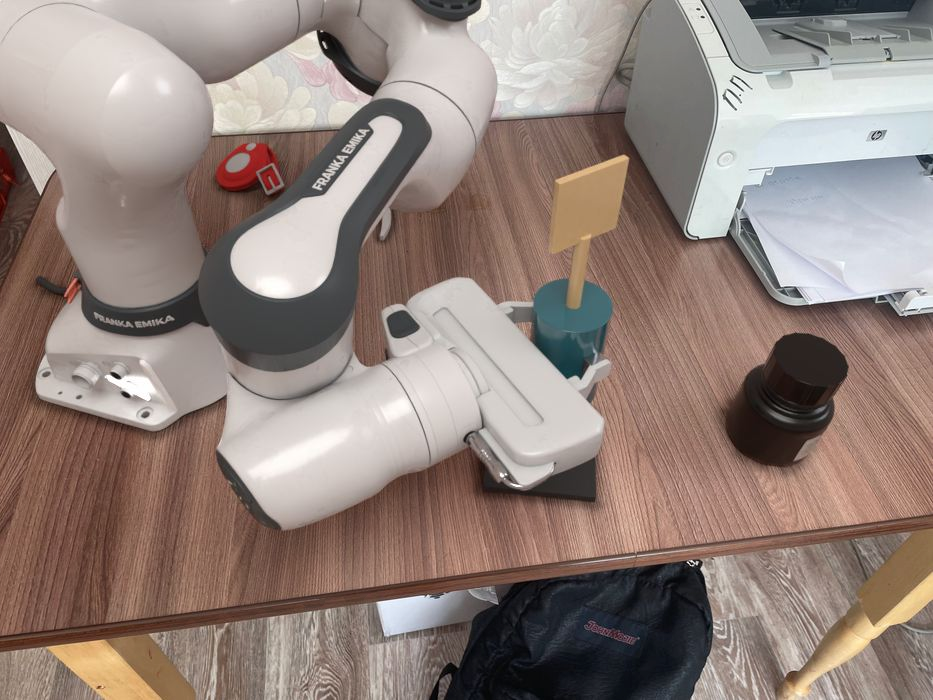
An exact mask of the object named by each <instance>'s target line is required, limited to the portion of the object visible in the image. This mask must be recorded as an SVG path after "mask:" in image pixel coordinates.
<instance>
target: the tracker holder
mask: <svg viewBox="0 0 933 700" xmlns="http://www.w3.org/2000/svg"><path fill="white" fill-rule="evenodd" d="M270 147H271V146H269V145H268V143H266V142H251V143H250V142H246V143H242V144H240V145H239V146H238V147H236V148H235V149H234V150H233V151H231V152H230V153H229V154H228V155H227V156H226V157H225V158H224V159H223V160H222V161H220V164H219V165H218V167H217V169H216V173H215V178H216V181H217V182H218V184H219V186H220V187H222V189H224V190H226V191H231V192H236V191H241V190H242V191H243V190H245V189H247V188H249V187H251V186H253V185H254V184H256V183H257V182H260V184H261V186H262V188H263V190H264V192H265V194H266V196H270V195H275V194H277V193H280V192H281V191H283V190H284V187H285V183H284V181H283V180H282V178H281V174H280V168H279V162H278V157H277V155H276V153H275V152H274V151H273V149H272V148H270Z"/></svg>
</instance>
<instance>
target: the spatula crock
mask: <svg viewBox="0 0 933 700" xmlns="http://www.w3.org/2000/svg"><path fill="white" fill-rule="evenodd" d="M629 162H630V157H629V156H627V155H625V154H622V155H618V156H616V157H613V158H611V159H608V160H605V161H602V162H600V163H597V164H594V165H592V166H589V167H586V168H583V169H581V170H578V171H576V172H573V173H570V174H568V175H565V176H562V177H560V178H556V179H555V180H554V184H553V194H552V203H551V212H550V213H551V215H550V224H549V232H548V233H549V234H548V241H547V243H548V245H547V252H548V253H549V254H550V255H556V254H558V253H560V252H563V251H565V250H568V249H570V248H572V253H571V261H570V269H569V276H568V277H565V278H564V277H563V278H559V279H554V280H551V281H548V282H547V283H545V284H543V285H542V286H541V287H540V288H538V290H537V291H536V293H535V294H534V297H533V300H532V301H533V311H532V321H531V322H530V323H531V324H530V336H529V340H530V341H531V342H532V343H533V344H534V345H535V346H536V347H537V348H538V349H539V350H540V351H541V352H542V353H543V355H544V356H545V357H546V358H547V359H548V360H549V361H550V362H551V363H552V364H553V365H554V366H555V367H556V368H557V369H558V370H559V371H560V373H561V374H562V375H563V376H564V377H565V378H566V379H569V378H571V377H573V376H578V377H579V378H580V380H581V379H582V378H583V376H584V375H583V374H582V369H583V367H584V364H583V363H584V358H586V357H588V356H591V355H595V353H597V352H601V353H602V354H603V355H604V356H605V353H606V347H607V342H608V337H609V332H610V329H611V323H612V318H613V314H614V304H613V301H612V298H611V296H610V295H609V294H608V292H606V290H604V289H603V288H602V287H600V286H599V285H597V284H595V283H594V282H591V281H588V280H586V274H587V273H586V272H587V266H588V259H589V254H590V247H591V241H592V239H594V238H597V237H599V236H601V235H603V234H606V233H608V232H610V231H613V230H615V229H617V226H618V221H619V216H620V211H621V205H622V200H623V194H624V189H625V185H626V184H625V183H626V178H627V172H628V167H629ZM599 382H600V381H598V382H596V383H594V385H593V387H592V389H591V391H590V393H589V395H588V397H587V399H586V400H587V401H588V402H589V403H590V404H591V403H592V402H593V401H594V399H595V397H596V396H597V391H598V388H599Z"/></svg>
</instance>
